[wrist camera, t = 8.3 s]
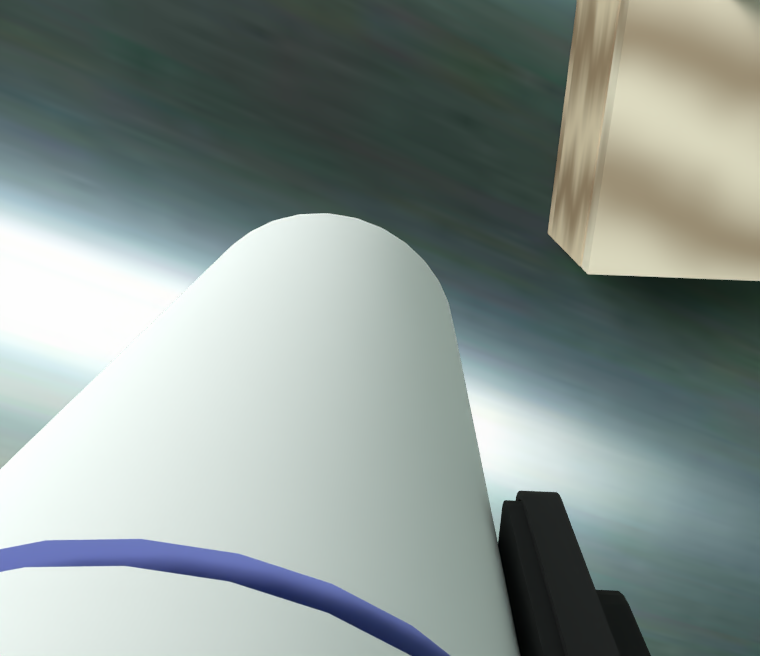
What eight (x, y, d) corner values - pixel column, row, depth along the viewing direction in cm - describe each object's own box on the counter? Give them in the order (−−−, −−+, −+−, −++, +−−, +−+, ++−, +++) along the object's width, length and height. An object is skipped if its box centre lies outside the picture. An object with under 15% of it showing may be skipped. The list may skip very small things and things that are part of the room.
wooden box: (594, -139, 34) (648, -201, 27) (861, -131, 34) (991, -192, 27) (547, 233, 41) (580, 266, 34) (768, 241, 41) (849, 276, 34)
